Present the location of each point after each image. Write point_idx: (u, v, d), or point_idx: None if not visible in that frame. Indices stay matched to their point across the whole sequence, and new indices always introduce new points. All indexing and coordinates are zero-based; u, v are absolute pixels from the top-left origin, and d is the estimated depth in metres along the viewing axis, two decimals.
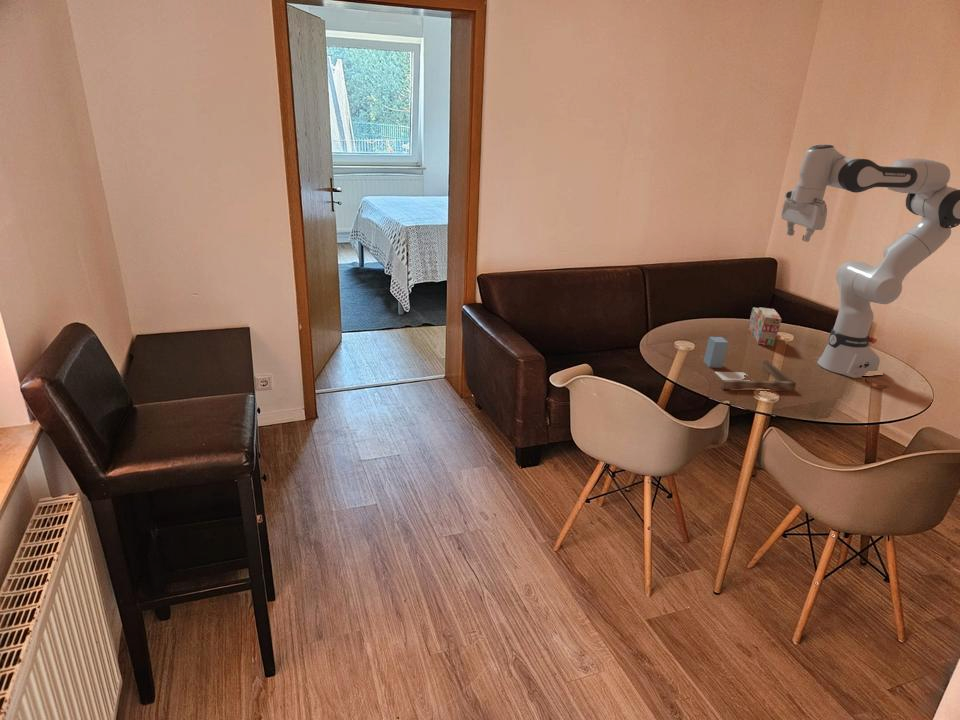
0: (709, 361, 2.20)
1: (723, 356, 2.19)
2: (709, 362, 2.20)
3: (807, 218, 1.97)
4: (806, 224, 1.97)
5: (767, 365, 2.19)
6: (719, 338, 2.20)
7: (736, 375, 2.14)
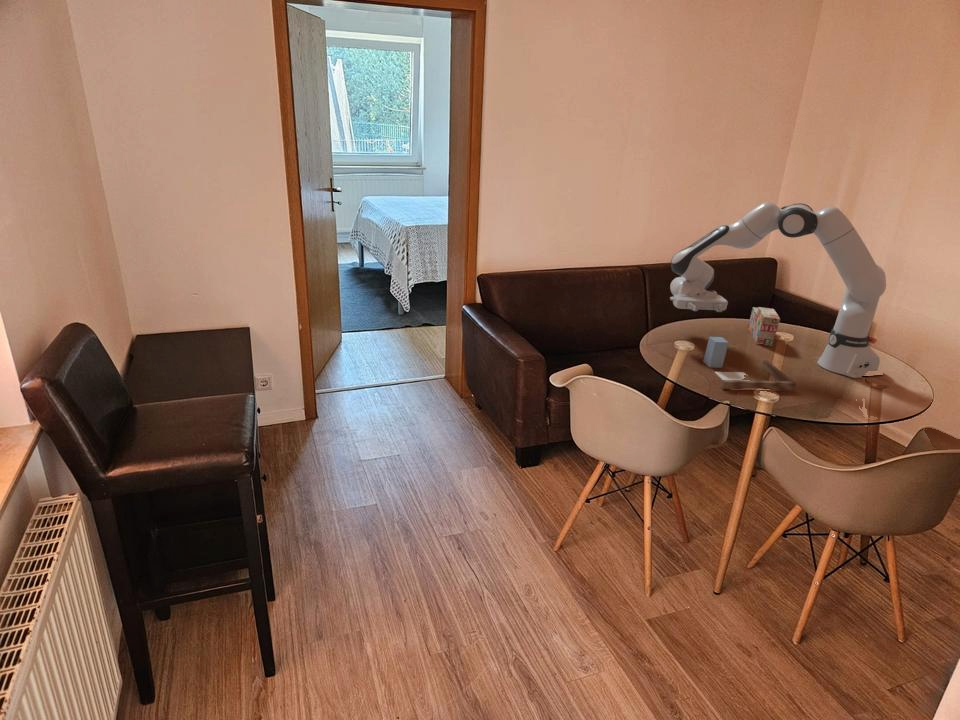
0: (709, 361, 2.20)
1: (723, 356, 2.19)
2: (709, 362, 2.20)
3: None
4: None
5: (767, 365, 2.19)
6: (719, 338, 2.20)
7: (736, 375, 2.14)
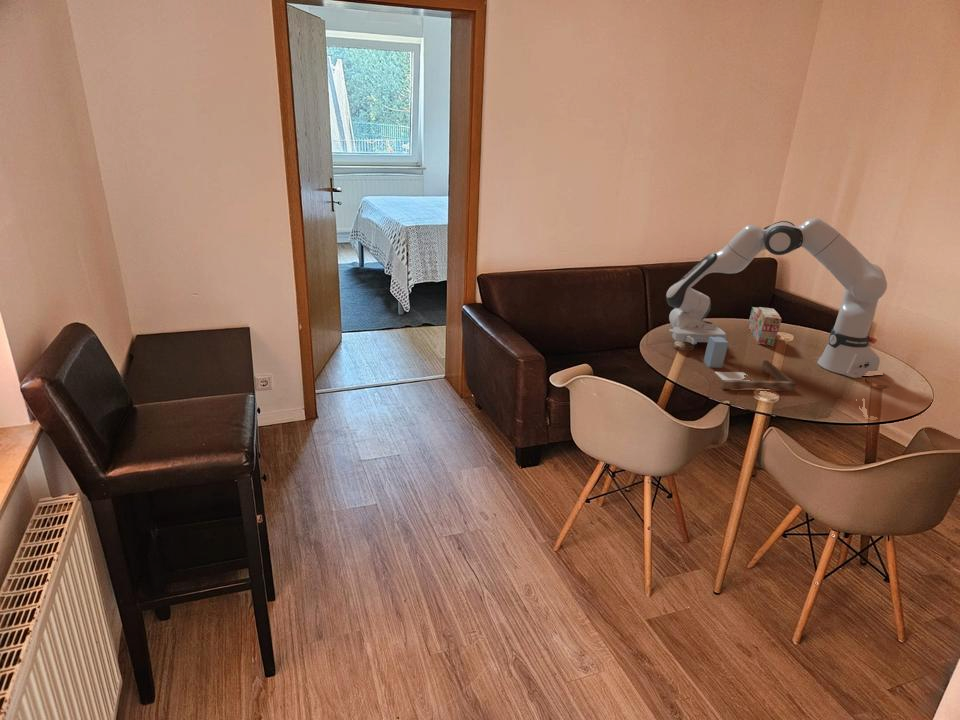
0: (709, 361, 2.20)
1: (723, 356, 2.19)
2: (709, 362, 2.20)
3: None
4: None
5: (767, 365, 2.19)
6: (719, 338, 2.20)
7: (736, 375, 2.14)
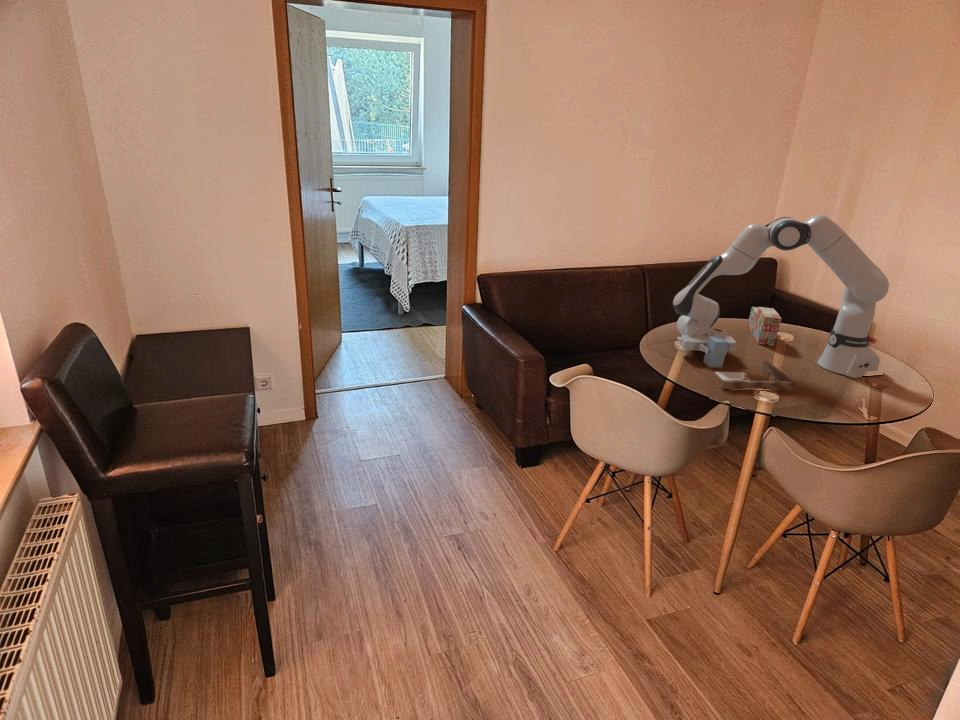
0: (709, 361, 2.20)
1: (723, 356, 2.19)
2: (709, 362, 2.20)
3: None
4: None
5: (767, 365, 2.19)
6: (719, 338, 2.20)
7: (736, 375, 2.14)
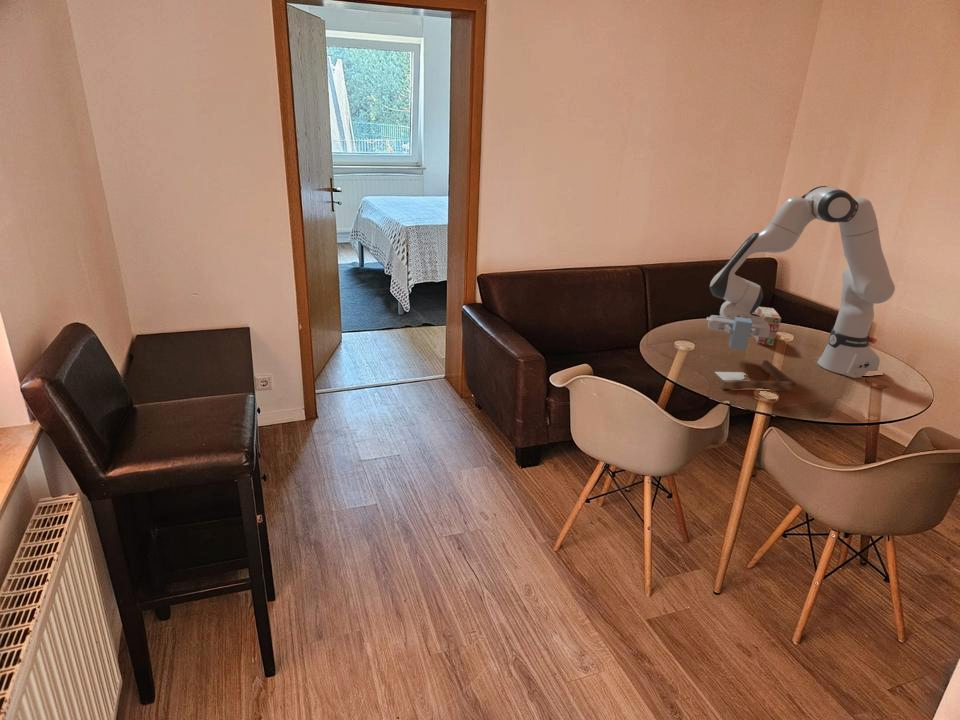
0: (731, 342, 2.07)
1: (746, 338, 2.05)
2: (730, 343, 2.07)
3: None
4: None
5: (767, 365, 2.19)
6: (745, 319, 2.06)
7: (736, 375, 2.14)
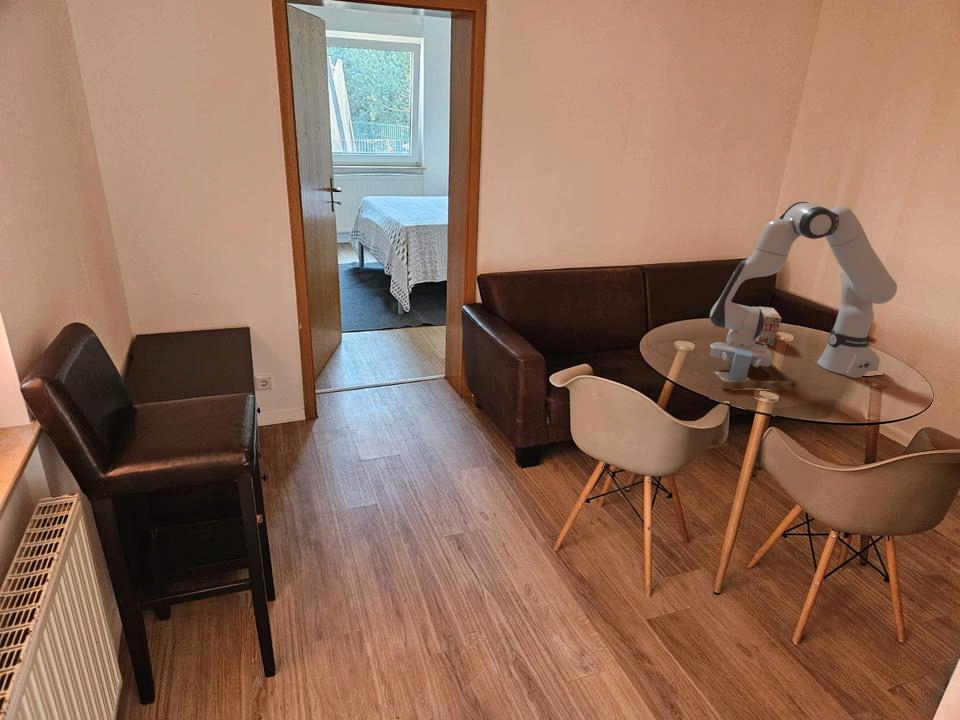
0: (730, 374, 2.10)
1: (746, 371, 2.07)
2: (730, 375, 2.10)
3: None
4: None
5: None
6: (746, 352, 2.08)
7: None
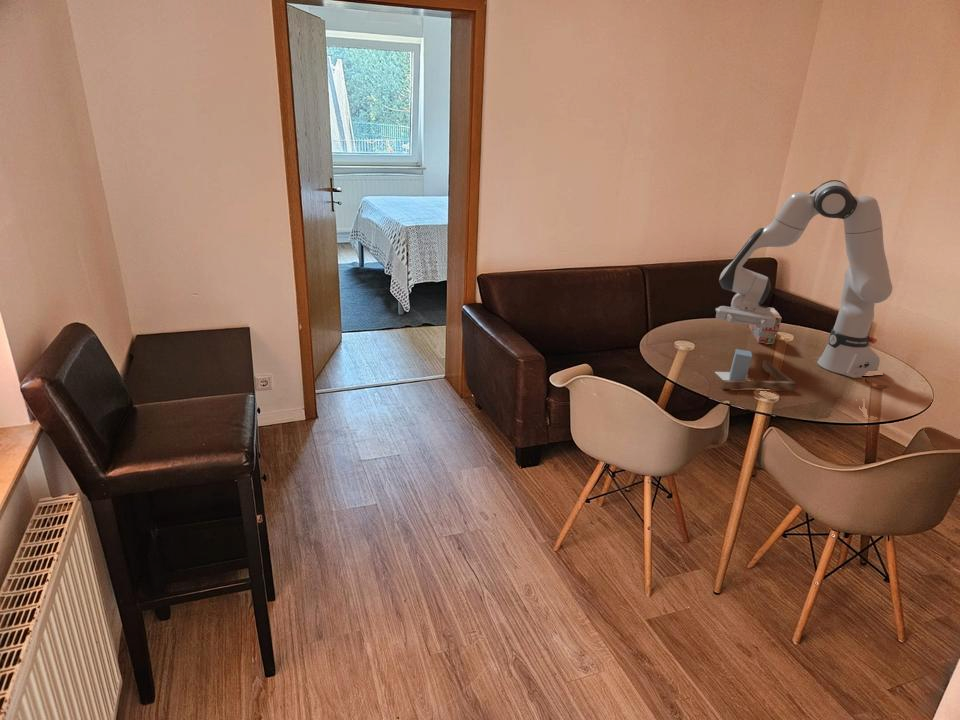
0: (730, 374, 2.10)
1: (746, 371, 2.07)
2: (730, 375, 2.10)
3: None
4: None
5: (767, 365, 2.19)
6: (746, 352, 2.08)
7: None
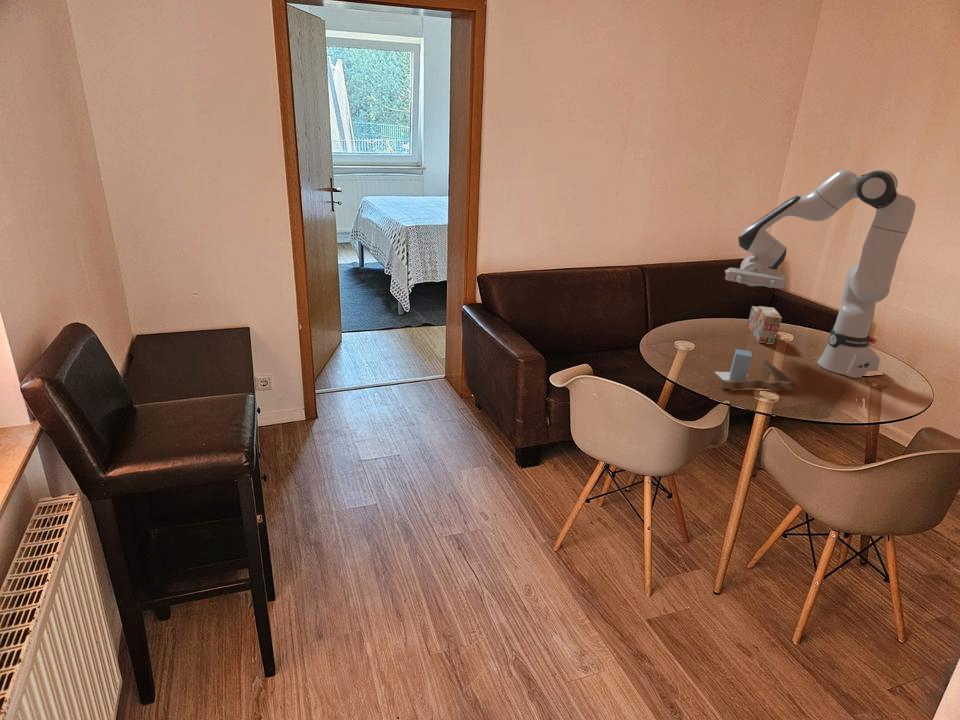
0: (730, 374, 2.10)
1: (746, 371, 2.07)
2: (730, 375, 2.10)
3: None
4: None
5: (767, 365, 2.19)
6: (746, 352, 2.08)
7: None
